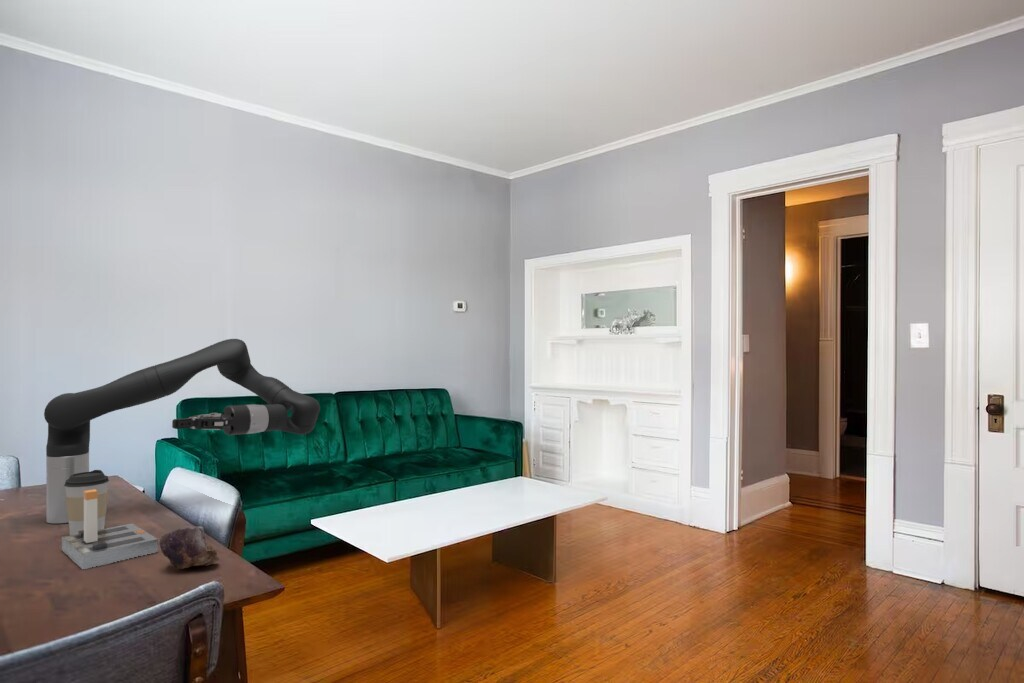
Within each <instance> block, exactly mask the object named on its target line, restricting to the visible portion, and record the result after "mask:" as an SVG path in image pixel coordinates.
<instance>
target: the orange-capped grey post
mask: <svg viewBox="0 0 1024 683" xmlns="http://www.w3.org/2000/svg"><path fill="white" fill-rule="evenodd" d="M83 498H84V541H85V542H86V543H90V542H95V541H98V532H97V498H98V491H97V490H95V489H93V490H86V491H83Z"/></svg>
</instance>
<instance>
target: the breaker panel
mask: <svg viewBox="0 0 1024 683" xmlns="http://www.w3.org/2000/svg"><path fill="white" fill-rule="evenodd" d="M97 532H98V541H95V542H90V543H86V542H85V541H84V530H82V531H78V534H74V535H70V534H69V535H64V536H61V551H62V552H63V553H64V554H65V555H66V556H67V555H68V556H67V557H69V559H70V560H72V562H74V564H75V565H77V566H78V567H79V568H80V569H81V570H83V569H84V570H89V569H92V567H93V568H96V566H97V567H100V566H106V565H109V564H110V565H111V564H114V563H113V562H115V563H118V562H117V561H119V562H121V561H120V560H123V561H126V560H125V559H128V560H130V559H129V558H132V559H135V558H134V557H137V558H139V557H138V556H141V557H144V556H143V555H145V556H148V555H147V554H150V555H152V554H151V553H154V554H156V553H155V552H158V553H159V548H158V547H159V545H158V544H159V539H158V538H157V537H156V536H154V535H152V534H151V533H149V532H147V531H145V530H144V529H142V528H140V527H139V526H137V525H136V524H134V523H133V522H131V523H128V524H127V523H126V524H123V525H117V526H111V527H107V528H105V527H104V529H100V530H97ZM84 570H83V571H84Z"/></svg>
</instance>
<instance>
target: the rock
mask: <svg viewBox="0 0 1024 683" xmlns="http://www.w3.org/2000/svg"><path fill="white" fill-rule="evenodd" d="M204 531H205V530H204V527H203V526H193V525H188V526H187V525H186V526H184V527H181V528H179V529H175V530H172V531H170V532H168V533H165V534H164V535H162V536H161V537H160V540H159V546H160V547H159V548H160V551H161V553H162V555H163V556H164V557H166V558H167V559H168V560H169V562H170V564H171V565H172V566H173V567H174V568H177V569H178V570H180V569H182V570H183V569H188V568H190V567H201V566H202V567H208V566H210V565H212V564H215V563H217V562H218V561H219V560H220V559H219V557H218V552H217V550H216V549H215V548H214V547H213V546H211V545H210V546H208V545H207V543H206V535H205V532H204Z"/></svg>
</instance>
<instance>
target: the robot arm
mask: <svg viewBox="0 0 1024 683" xmlns="http://www.w3.org/2000/svg"><path fill="white" fill-rule="evenodd" d="M214 367H216V368H217V370H218V372H219V374H220V375H221V376H222V377H224V378H226V379H227V380H229V381H231V382H233V383H235V384H237V385H239V386H241V387H243V388H245V389H246V390H248V391H250V392H252V394H255V395H256V396H258V397H259V398H260V399H262V400H263V401H264V402H266V403H267V404H233V405H227V406H225V407H224V409H223V411H222V413H218V412H210V413H209V414H206V413H205V414H204V413H203V414H197V415H191V416H189V417H187V418H173V419H172V424H171V428H173V429H176V430H179V429H180V430H181V429H192V430H196V429H197V430H204V431H205V430H206V431H207V430H215V431H222V430H223V432H224V434H226V435H227V436H236V435H239V436H240V435H249V434H250V435H251V434H258V433H262V432H273V431H281V432H285V433H292V434H294V435H307V434H310V433H311V432H312V431H314V428H315V426H316V423H317V420H318V417H319V414H320V411H321V405H320V404H319V401H318V400H317V399H316V398H314V397H312V396H309V395H306V394H303V393H300V392H298V391H296V390H293V389H292V388H291V387H289V386H288V385H287V384H286V383H284V382H282V381H281V380H280V379H278V378H276V377H272V376H266V375H264V374H261V373H260V372H258V370H257V369H256V368H255V367H254V365H252V363H251V358H250V354H249V350H248V346H247V344H246V342H245V341H244V340H242V339H239V338H229V339H224V340H220V341H218V342H216V343H213V344H210V345H209V346H206V347H204V348H202V349H199V350H196V351H193V352H191V353H188V354H187V355H183V356H180V357H177V358H174V359H172V360H169V361H165V362H162V363H158V364H155V365H151V366H148V367H145V368H142V369H139V370H137V371H136V370H135V371H133V372H131V373H128V374H126V375H124V376H121V377H119V378H118V379H115V380H113V381H110V382H109V383H107V384H104V385H101V386H97V387H95V388H90V389H86V390H83V391H78V392H67V393H62V394H59V395H57V396H55V397H53V398H52V399H51V400H50V401H49V402H47V404H46V406H45V408H44V412H43V416H44V419H45V420H44V421H45V422H46V423H47V442H46V448H45V451H46V461H45V463H46V465H45V466H46V472H45V473H46V476H45V477H46V478H45V480H46V482H45V483H46V523H47V524H66V523H68V524H69V520H68V517H67V507H66V497H65V495H66V488H65V486H64V485H65V481H66V480H67V479H69V477H70V476H71V475H73V474H76V473H82V472H90V441H91V421H92V420H95V419H97V418H99V417H101V416H103V415H106V414H109V413H112V412H114V411H118V410H122V409H128V408H133V407H135V406H140V405H143V404H147V403H150V402H152V401H156V400H159V399H162V398H165V397H168V396H171V395H173V394H175V393H176V392H178V391H179V390H180V389H182V387H184V386H185V385H186V384H187V383H188V382H190V380H192V379H193V378H194V377H195V376H196V375H198V374H199V373H201V372H202V371H204V370H207V369H210V368H214ZM290 411H291V414H290V416H289V415H288V412H290Z"/></svg>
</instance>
